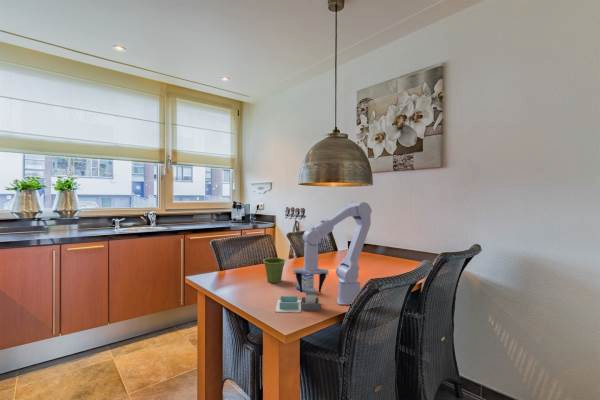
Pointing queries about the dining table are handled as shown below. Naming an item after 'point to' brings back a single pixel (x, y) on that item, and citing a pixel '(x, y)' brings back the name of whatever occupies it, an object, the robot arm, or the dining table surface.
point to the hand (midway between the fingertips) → (310, 291)
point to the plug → (310, 295)
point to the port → (289, 304)
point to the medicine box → (306, 282)
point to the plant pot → (274, 269)
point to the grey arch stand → (310, 304)
